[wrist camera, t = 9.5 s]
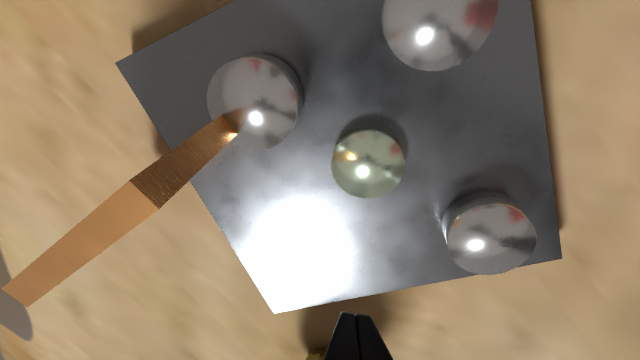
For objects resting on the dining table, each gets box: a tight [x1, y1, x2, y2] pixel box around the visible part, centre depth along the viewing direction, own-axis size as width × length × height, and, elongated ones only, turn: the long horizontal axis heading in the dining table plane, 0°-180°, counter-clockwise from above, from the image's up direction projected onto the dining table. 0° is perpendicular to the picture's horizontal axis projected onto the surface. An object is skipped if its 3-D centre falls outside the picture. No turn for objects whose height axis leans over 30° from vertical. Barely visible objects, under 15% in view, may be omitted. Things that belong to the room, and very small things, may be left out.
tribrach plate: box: [115, 0, 562, 313], centre depth 18 cm, size 20×20×4 cm
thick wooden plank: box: [2, 53, 304, 307], centre depth 15 cm, size 13×4×9 cm, turn 127°
